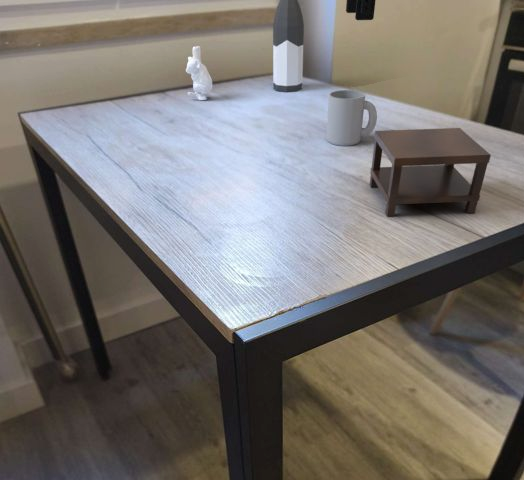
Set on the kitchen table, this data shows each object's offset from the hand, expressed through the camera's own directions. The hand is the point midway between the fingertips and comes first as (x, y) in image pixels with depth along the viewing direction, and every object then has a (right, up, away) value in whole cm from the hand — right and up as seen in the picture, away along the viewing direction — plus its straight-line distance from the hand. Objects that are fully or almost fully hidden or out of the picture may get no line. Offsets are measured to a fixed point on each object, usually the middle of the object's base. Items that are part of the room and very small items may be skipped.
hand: (359, 16), depth 95 cm
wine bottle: (-11, +11, +48) cm, 51 cm away
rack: (+8, -37, -11) cm, 39 cm away
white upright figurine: (-34, +5, +42) cm, 54 cm away
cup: (0, -18, +12) cm, 22 cm away
